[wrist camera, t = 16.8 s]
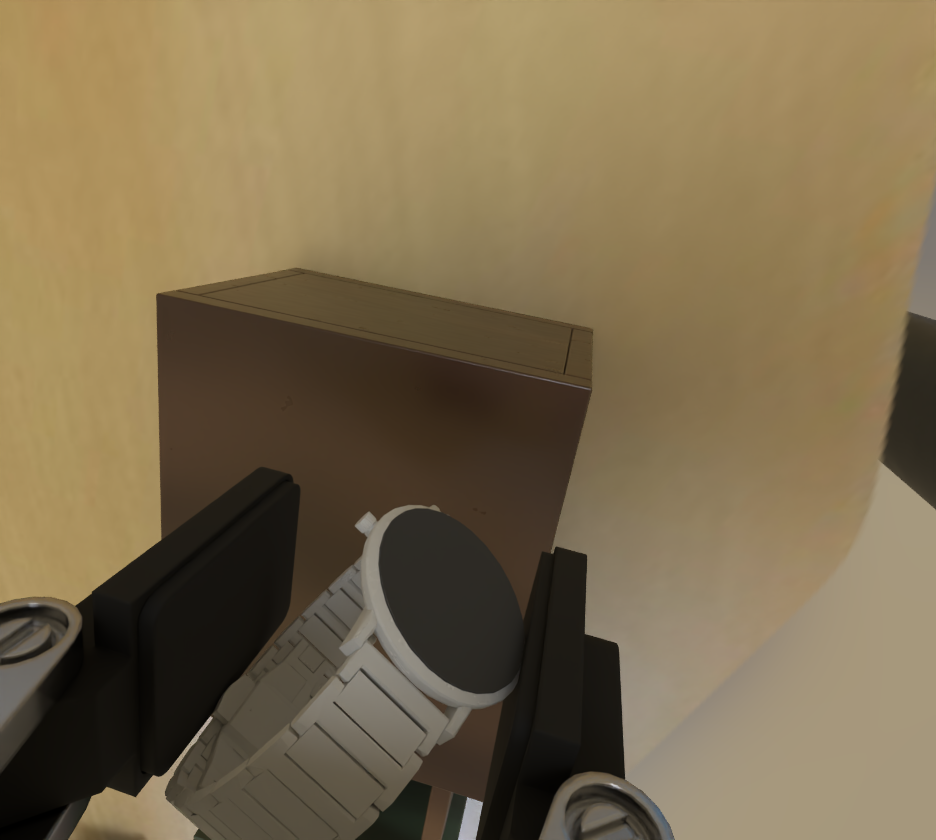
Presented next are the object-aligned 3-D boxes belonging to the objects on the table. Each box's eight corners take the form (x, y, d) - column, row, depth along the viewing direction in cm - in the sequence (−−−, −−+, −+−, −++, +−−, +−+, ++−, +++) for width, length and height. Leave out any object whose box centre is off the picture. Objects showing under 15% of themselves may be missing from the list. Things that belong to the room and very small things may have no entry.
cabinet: (516, 641, 29) (486, 804, 21) (276, 574, 30) (164, 702, 23) (593, 328, 23) (592, 387, 15) (295, 267, 25) (155, 293, 17)
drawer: (454, 850, 33) (421, 999, 27) (265, 788, 35) (193, 916, 28) (521, 567, 26) (498, 678, 20) (283, 505, 28) (193, 590, 22)
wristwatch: (548, 552, 10) (511, 836, 6) (361, 683, 12) (216, 980, 7) (433, 430, 10) (290, 624, 5) (258, 584, 12) (39, 829, 7)
